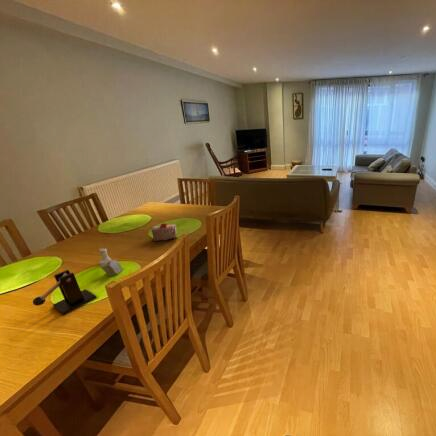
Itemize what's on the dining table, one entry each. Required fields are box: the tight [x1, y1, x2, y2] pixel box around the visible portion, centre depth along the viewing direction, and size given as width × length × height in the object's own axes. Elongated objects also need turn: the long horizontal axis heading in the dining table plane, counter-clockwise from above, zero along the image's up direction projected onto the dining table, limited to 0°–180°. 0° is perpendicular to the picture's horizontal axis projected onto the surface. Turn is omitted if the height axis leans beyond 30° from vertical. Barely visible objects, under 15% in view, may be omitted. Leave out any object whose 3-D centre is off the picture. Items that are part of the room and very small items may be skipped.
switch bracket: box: [52, 269, 97, 316], centre depth 95 cm, size 11×9×14 cm
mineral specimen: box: [98, 259, 123, 277], centre depth 115 cm, size 7×9×8 cm
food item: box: [151, 222, 178, 242], centre depth 150 cm, size 14×8×10 cm, turn 108°
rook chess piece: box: [98, 247, 112, 261], centre depth 124 cm, size 4×4×8 cm
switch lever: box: [32, 273, 68, 307], centre depth 91 cm, size 13×3×3 cm, turn 150°
